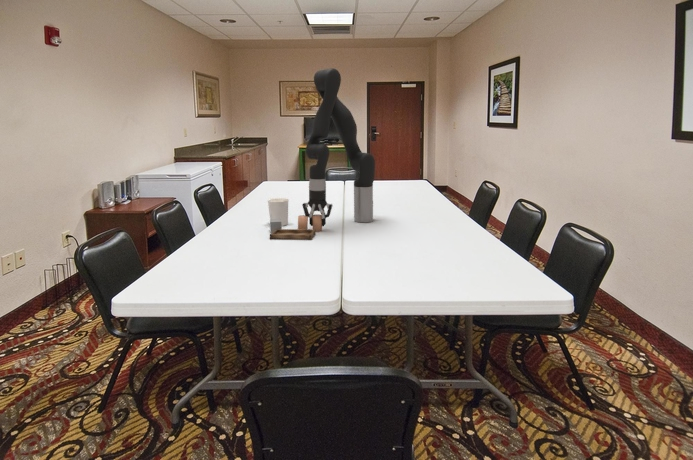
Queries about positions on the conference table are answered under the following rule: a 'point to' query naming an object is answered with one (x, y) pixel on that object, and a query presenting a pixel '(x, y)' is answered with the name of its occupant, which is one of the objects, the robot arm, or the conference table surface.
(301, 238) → the tray
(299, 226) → the clay cylinder
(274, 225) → the grey block
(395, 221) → the conference table surface
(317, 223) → the clay cylinder
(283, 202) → the candle holder
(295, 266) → the conference table surface
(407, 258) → the conference table surface
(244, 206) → the conference table surface
